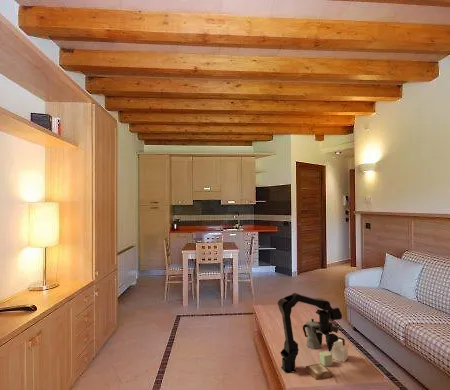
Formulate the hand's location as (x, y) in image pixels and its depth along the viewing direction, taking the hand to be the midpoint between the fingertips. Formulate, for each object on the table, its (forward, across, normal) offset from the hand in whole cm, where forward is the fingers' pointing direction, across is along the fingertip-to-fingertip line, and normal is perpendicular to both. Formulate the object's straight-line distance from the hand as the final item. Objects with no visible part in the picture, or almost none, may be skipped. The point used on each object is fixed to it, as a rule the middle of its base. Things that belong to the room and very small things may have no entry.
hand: (325, 347), depth 186 cm
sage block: (+9, 0, 0) cm, 9 cm away
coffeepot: (+10, +23, -5) cm, 25 cm away
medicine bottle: (+10, +3, -12) cm, 16 cm away
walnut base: (+9, -8, +10) cm, 16 cm away
